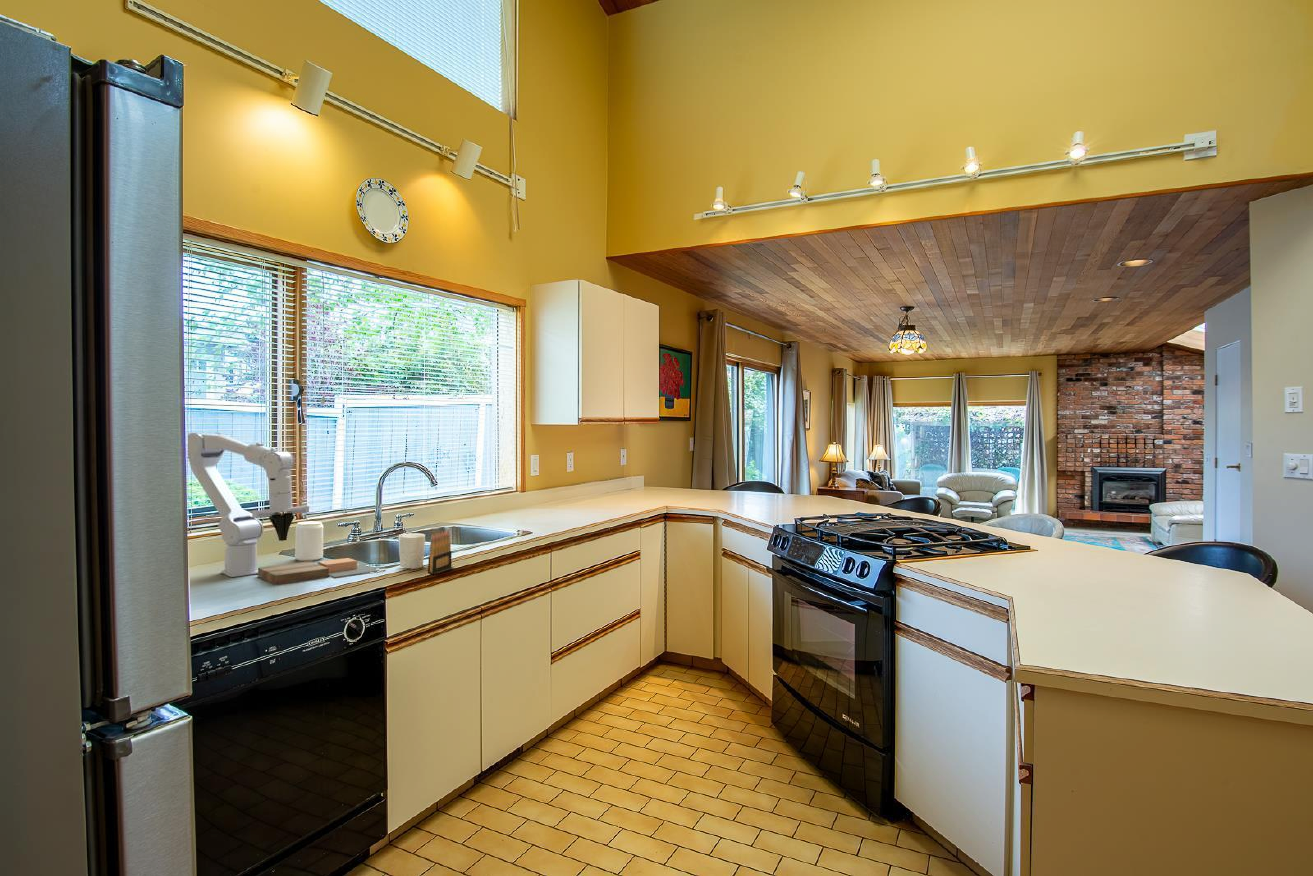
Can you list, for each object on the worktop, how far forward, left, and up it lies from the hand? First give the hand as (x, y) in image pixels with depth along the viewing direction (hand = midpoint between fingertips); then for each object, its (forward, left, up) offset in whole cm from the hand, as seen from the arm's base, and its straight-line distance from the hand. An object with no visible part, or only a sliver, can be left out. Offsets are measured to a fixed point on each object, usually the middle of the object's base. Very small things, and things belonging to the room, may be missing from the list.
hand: (282, 540), depth 190 cm
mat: (+4, +17, -11) cm, 20 cm away
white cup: (+13, +33, -11) cm, 37 cm away
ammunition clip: (+23, +37, -11) cm, 45 cm away
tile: (+3, +15, -9) cm, 17 cm away
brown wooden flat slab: (+3, +2, -11) cm, 11 cm away
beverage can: (-20, +15, -11) cm, 28 cm away
